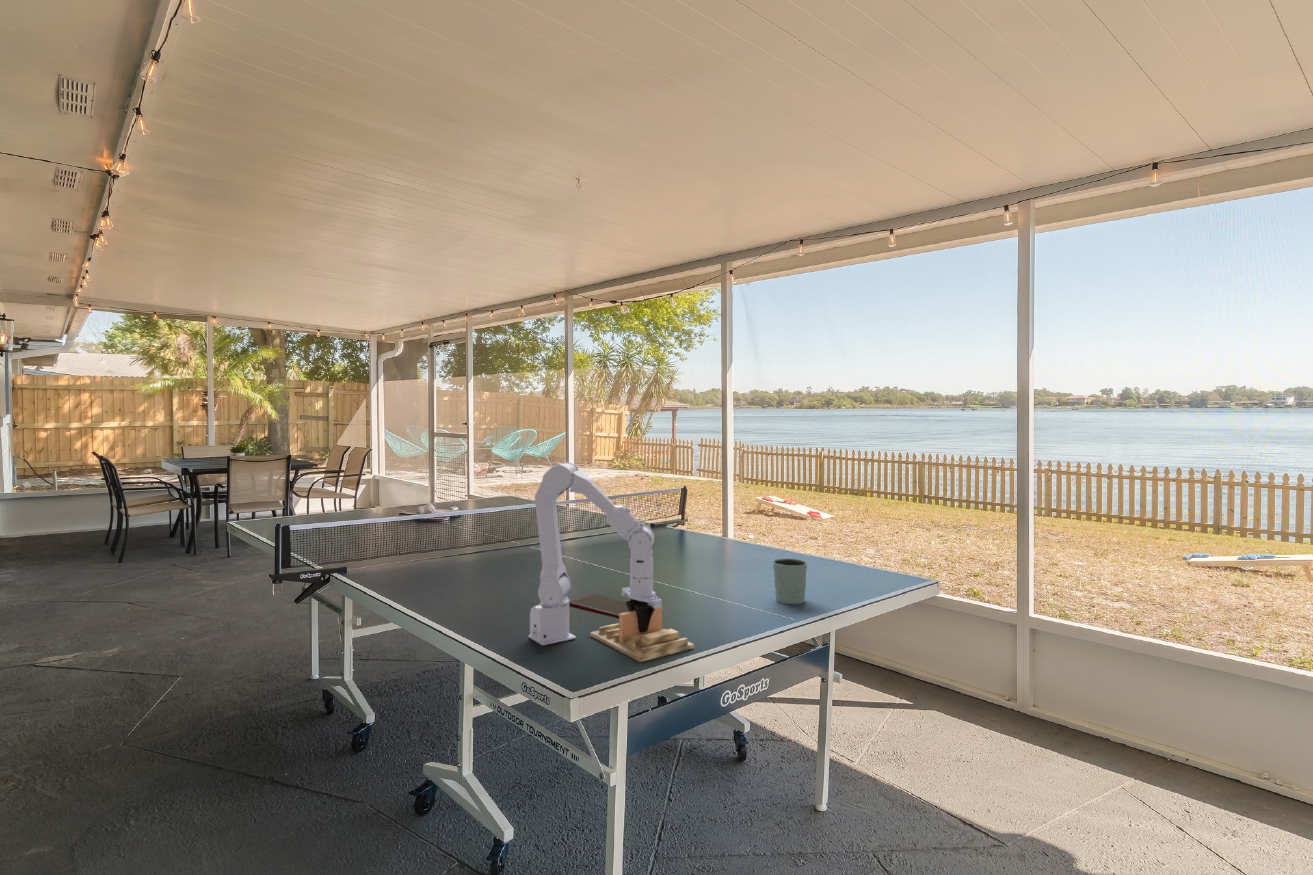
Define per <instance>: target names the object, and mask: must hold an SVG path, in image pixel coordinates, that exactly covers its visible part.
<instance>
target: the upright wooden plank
mask: <svg viewBox="0 0 1313 875" xmlns="http://www.w3.org/2000/svg"><path fill="white" fill-rule="evenodd" d="M618 623H619V642H620V643H622V638H626V637H630V636H635V635H639V634H644V633H648V632H653V631H657V630H661V629H663V607H662V608H658V609H655V610H654V612H653V614H652V616H651V619H650V623H649V627H648V630H647V631H646V632H642V633H640V632H639V628H638V618H637V613H636V610H634V611H629V612H624V613H619V618H618Z"/></svg>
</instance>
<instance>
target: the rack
mask: <svg viewBox="0 0 1313 875" xmlns="http://www.w3.org/2000/svg"><path fill="white" fill-rule="evenodd" d="M663 630H667V628H662V629H661V630H657V631H653V632H648V633H644V634H639V635H635V636H630V637H626V638H622V643H620V642H619V622H618V623H617V622H616V623H613V624H607V625H603V626H599V627H598V630H593V631H591V632H590V633H589V634H590V635H589V636H590V637H591V638H593V639H595V640H597V641H599V642H601V643H603V644H605V645H607V646H608V647H610V648H612V649H613V650H616V651H618V652H620V653H622V654H623V655H625V656H627V657H629V658H631V659H634V660H635V661H637V662H638V663H641V662H646V661H650V660H654V659H657V658H661V657H665V656H669V655H673V654H676V653H680V652H681V653H682V652H684V651H688V649H689V650H693V649H694V648H695V645H694V643H692V642H690V641H688V640H689V639H688V638H687V637H682V638H681V639H677V640H673V641H669V642H665V643H661V644H657V645H652V646H648V647H644V648H642V649H641V651H639V650H637V649H635V643H636V642H640V641H641V635H645V634H650V633H654V632H659V631H663ZM668 654H669V655H668Z"/></svg>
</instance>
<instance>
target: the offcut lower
mask: <svg viewBox="0 0 1313 875" xmlns="http://www.w3.org/2000/svg"><path fill="white" fill-rule="evenodd" d="M677 639H682V638H681V637H680V636H679V638H676V639H672V640H668V641H664V642H660V643H656V644H651V645H647V644H645V643H643V642H641V641H640V642H636V643H635V649H637V650H639V651H641V649H642V648H644V647H648V646H652V645H657V644H661V643H665V642H669V641H673V640H677Z"/></svg>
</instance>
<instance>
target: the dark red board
mask: <svg viewBox="0 0 1313 875" xmlns="http://www.w3.org/2000/svg"><path fill="white" fill-rule="evenodd" d="M626 602H627V601H625V600H620V599H616V598H613V597H608V596H605V595H600V594H596V593H593V594H588V595H585V596H580V597H578V598H574V599H572V600H571V599H570V600H569V607H575V608H578V609H581V610H586V611H588V612H589V611H590V612H594V613H597V614H600V615H605V616H609V617H613V618H618V619H619V613H624V612H629V609H628V607H627V606H626Z"/></svg>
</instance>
